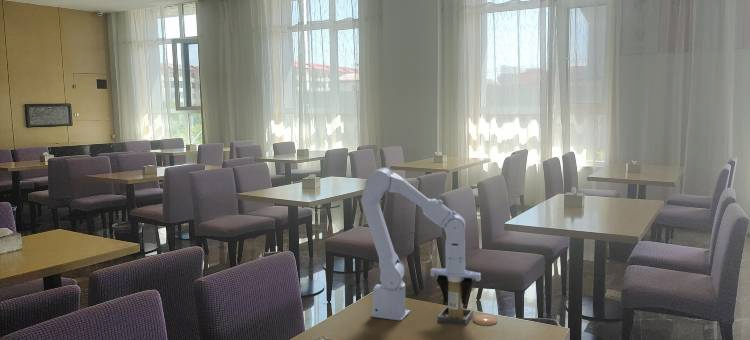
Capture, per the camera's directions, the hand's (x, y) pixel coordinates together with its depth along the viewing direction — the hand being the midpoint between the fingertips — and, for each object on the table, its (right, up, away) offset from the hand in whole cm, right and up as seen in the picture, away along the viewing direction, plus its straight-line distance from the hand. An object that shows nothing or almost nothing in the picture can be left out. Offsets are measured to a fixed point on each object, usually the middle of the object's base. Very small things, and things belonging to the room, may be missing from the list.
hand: (455, 301), depth 168 cm
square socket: (0, -5, +1) cm, 5 cm away
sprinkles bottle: (0, -5, +1) cm, 5 cm away
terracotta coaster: (+8, -5, -2) cm, 10 cm away
